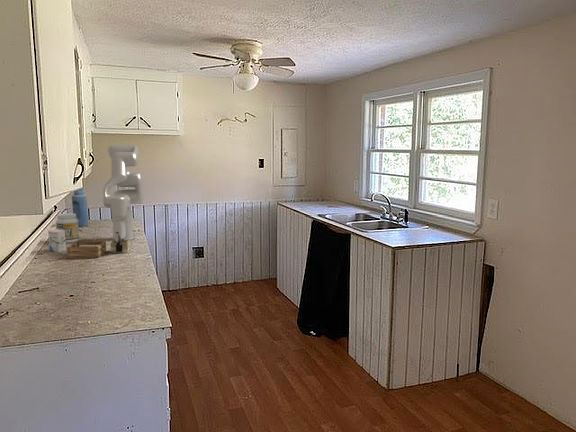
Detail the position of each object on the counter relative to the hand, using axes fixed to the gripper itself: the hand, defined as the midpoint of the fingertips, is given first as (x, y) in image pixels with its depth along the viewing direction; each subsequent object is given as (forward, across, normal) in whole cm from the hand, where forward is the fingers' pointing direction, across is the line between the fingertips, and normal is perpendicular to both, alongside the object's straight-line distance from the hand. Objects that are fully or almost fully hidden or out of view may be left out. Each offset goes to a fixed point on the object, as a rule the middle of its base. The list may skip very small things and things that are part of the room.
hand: (120, 249), depth 249 cm
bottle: (+1, -85, -49) cm, 98 cm away
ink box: (+1, -6, -36) cm, 37 cm away
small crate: (+1, 0, 0) cm, 1 cm away
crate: (+1, +6, -16) cm, 17 cm away
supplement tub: (+1, -31, -39) cm, 50 cm away
